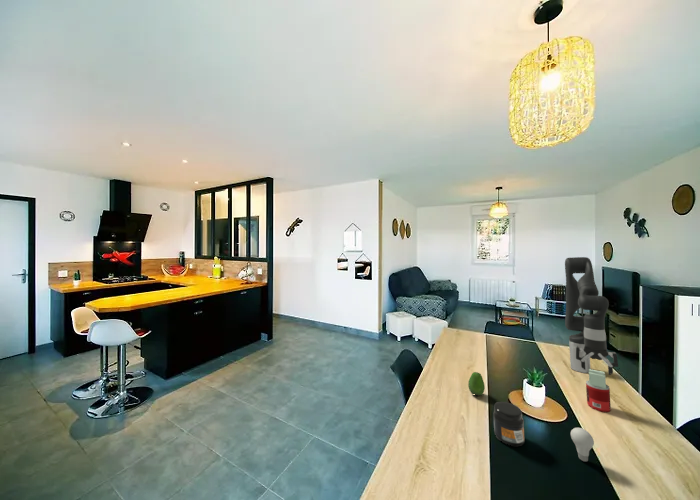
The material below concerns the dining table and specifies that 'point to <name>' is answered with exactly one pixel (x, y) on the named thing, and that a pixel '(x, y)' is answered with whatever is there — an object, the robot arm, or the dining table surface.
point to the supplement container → (508, 424)
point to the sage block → (597, 378)
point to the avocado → (476, 384)
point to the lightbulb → (582, 442)
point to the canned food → (598, 397)
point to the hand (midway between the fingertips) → (596, 371)
